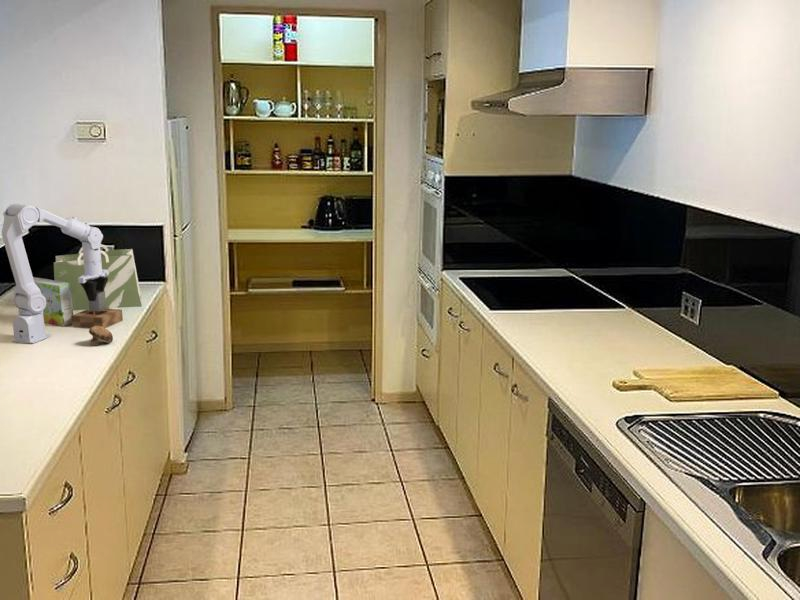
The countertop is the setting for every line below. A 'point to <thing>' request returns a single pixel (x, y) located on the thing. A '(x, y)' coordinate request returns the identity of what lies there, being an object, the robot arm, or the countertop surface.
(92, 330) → the mushroom
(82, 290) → the grocery bag
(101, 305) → the square bit
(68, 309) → the snack box
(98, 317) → the socket block
